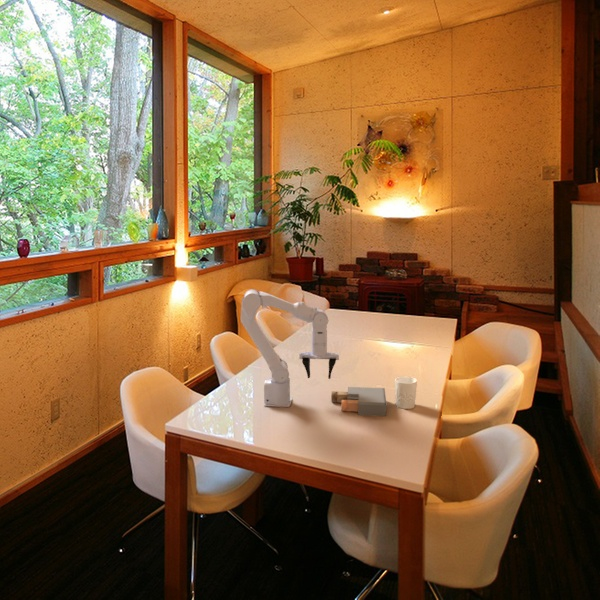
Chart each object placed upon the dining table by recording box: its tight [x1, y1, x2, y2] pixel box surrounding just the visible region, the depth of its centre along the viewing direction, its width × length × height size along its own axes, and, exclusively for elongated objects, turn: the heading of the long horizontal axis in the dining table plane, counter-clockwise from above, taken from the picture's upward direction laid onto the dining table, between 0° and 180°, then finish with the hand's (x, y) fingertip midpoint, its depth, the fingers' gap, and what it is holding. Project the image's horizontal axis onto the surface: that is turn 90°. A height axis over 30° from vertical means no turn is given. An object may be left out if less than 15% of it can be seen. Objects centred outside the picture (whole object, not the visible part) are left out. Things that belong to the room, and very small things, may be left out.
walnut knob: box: [331, 390, 348, 403], centre depth 193 cm, size 11×4×4 cm, turn 83°
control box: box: [347, 386, 387, 417], centre depth 188 cm, size 14×14×5 cm
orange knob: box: [340, 400, 358, 412], centre depth 185 cm, size 11×4×4 cm, turn 83°
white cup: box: [394, 375, 418, 410], centre depth 189 cm, size 8×8×10 cm
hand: (319, 377), depth 193 cm, fingers open, 7 cm apart
